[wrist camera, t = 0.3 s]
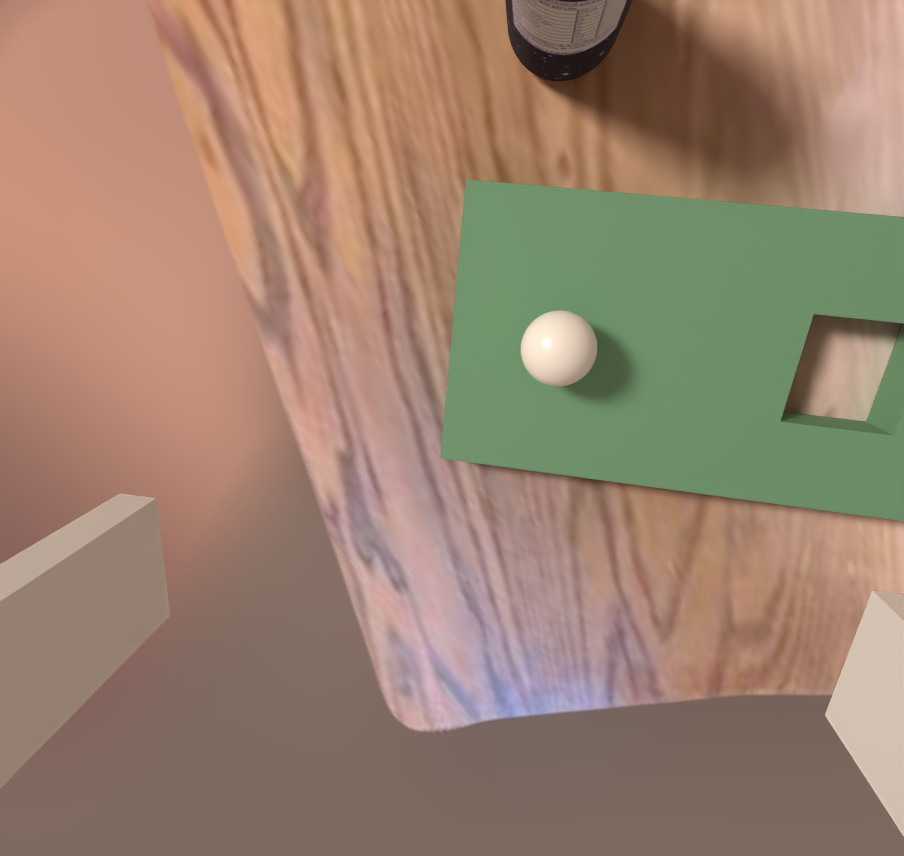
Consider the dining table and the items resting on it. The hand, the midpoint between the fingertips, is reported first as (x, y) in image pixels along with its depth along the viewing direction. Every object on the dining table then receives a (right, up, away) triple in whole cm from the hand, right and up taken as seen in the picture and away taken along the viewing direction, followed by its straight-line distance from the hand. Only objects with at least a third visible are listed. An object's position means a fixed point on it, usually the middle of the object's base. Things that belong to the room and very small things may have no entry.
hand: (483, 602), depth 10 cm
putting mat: (+14, +8, +22) cm, 27 cm away
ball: (+5, +8, +20) cm, 22 cm away
